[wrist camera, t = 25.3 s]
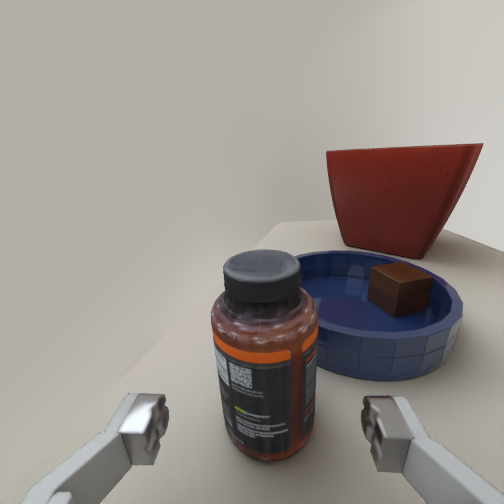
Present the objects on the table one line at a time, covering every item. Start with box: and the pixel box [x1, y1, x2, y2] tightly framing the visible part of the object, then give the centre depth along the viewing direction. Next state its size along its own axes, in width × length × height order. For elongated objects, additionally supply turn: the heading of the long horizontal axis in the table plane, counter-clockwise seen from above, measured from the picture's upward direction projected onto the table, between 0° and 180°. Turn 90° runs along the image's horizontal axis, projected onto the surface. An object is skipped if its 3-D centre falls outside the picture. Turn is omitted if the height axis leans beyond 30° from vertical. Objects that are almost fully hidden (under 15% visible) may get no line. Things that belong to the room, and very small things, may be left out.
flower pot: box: [326, 143, 483, 259], centre depth 44 cm, size 19×19×17 cm
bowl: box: [295, 251, 463, 381], centre depth 27 cm, size 18×18×4 cm
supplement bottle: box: [211, 250, 318, 461], centre depth 15 cm, size 6×6×11 cm
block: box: [367, 262, 433, 318], centre depth 27 cm, size 4×4×4 cm
